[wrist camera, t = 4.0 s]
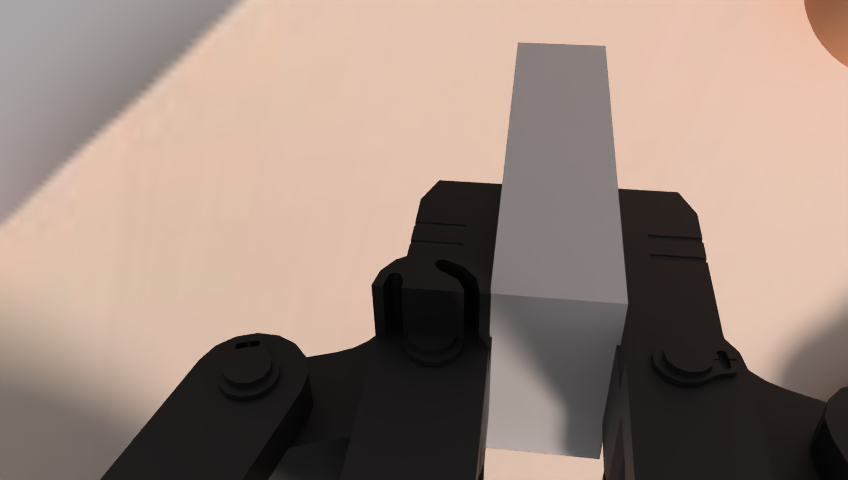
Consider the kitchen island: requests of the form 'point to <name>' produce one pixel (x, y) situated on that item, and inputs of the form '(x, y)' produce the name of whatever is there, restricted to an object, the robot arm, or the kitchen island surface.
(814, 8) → the ball
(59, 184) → the kitchen island surface
